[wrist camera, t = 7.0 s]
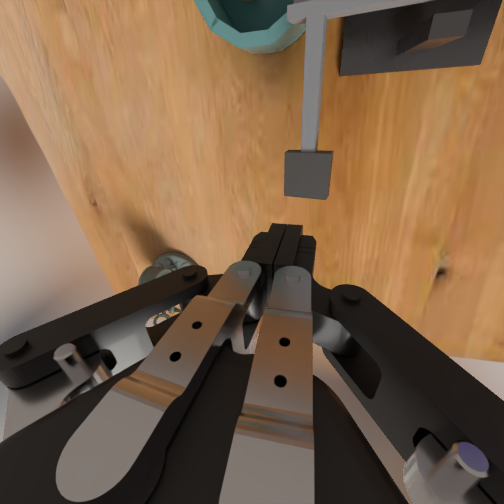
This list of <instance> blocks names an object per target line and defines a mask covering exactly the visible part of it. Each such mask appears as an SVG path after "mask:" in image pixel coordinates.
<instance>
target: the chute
mask: <svg viewBox="0 0 504 504" xmlns="http://www.w3.org/2000/svg"><path fill="white" fill-rule="evenodd" d="M428 1H434V0H294V4H291V5H287V21H288V22H290V23H292V24H294V25H299V24H304V23H306V41H305V64H304V87H303V111H302V134H301V150H288V151H286V152H285V173H284V196H292V197H301V198H311V199H321V200H326V199H327V197H328V196H329V187H330V178H331V169H332V160H333V151H317V146H318V133H319V120H320V107H321V94H322V80H323V67H324V54H325V41H326V27H327V19H332V18H338V17H344V16H349V15H355V14H361V13H366V12H372V11H377V10H383V9H389V8H394V7H400V6H406V5H411V4H417V3H423V2H428Z"/></svg>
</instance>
